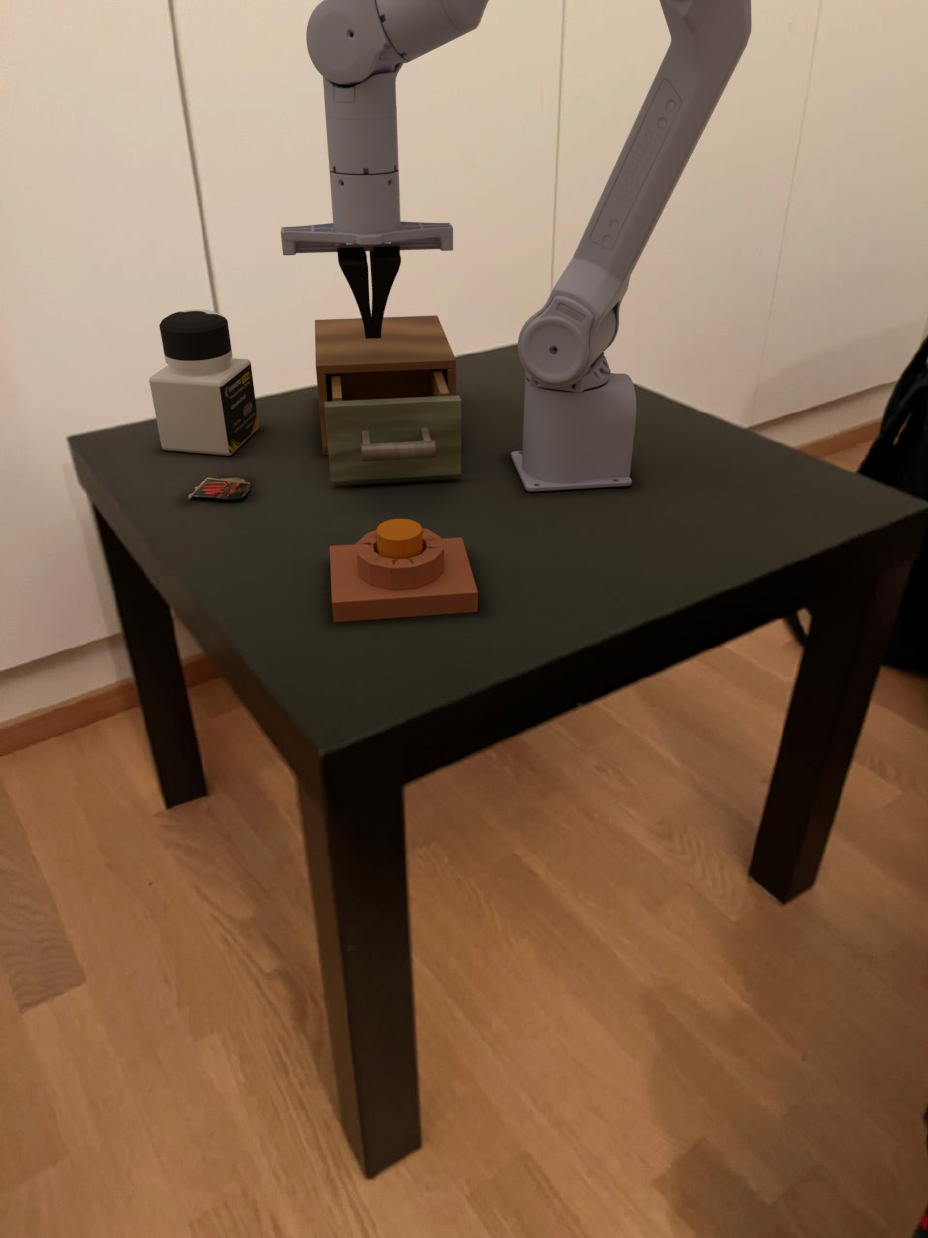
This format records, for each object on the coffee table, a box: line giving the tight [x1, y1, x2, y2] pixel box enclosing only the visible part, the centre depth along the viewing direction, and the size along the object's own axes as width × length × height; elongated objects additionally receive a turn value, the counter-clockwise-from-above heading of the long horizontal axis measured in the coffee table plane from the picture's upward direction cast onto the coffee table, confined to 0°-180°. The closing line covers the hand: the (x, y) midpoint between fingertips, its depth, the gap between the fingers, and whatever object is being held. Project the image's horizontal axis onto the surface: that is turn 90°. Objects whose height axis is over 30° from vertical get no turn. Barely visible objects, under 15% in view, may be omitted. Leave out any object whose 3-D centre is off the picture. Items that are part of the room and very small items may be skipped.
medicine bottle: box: [148, 309, 260, 457], centre depth 87 cm, size 7×7×12 cm
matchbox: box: [187, 476, 251, 502], centre depth 81 cm, size 5×5×1 cm
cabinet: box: [314, 314, 457, 456], centre depth 92 cm, size 15×13×9 cm
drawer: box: [324, 369, 462, 483], centre depth 83 cm, size 18×11×7 cm, turn 8°
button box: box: [329, 527, 479, 623], centre depth 67 cm, size 10×8×4 cm
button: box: [375, 518, 423, 559], centre depth 66 cm, size 3×3×2 cm
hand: (372, 335), depth 84 cm, fingers closed
